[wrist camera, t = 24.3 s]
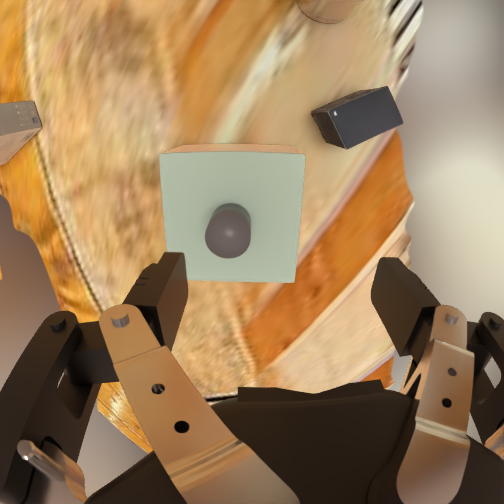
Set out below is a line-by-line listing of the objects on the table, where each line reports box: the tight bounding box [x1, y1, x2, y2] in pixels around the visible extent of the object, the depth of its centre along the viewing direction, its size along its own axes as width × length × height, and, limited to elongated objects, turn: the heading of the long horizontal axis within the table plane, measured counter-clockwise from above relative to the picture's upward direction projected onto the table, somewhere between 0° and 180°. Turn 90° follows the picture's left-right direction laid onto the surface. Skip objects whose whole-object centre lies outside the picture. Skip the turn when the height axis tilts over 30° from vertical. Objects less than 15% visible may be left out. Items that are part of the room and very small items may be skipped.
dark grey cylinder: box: [205, 203, 251, 259], centre depth 34 cm, size 5×5×5 cm
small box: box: [311, 86, 403, 150], centre depth 37 cm, size 11×6×10 cm, turn 119°
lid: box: [159, 151, 305, 283], centre depth 37 cm, size 18×18×1 cm
